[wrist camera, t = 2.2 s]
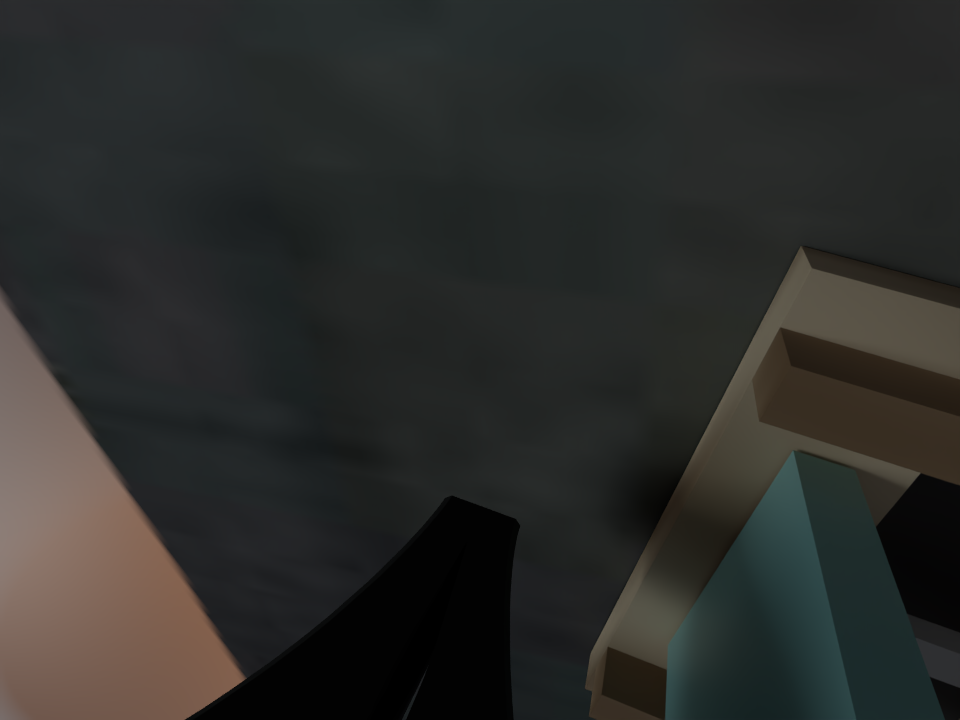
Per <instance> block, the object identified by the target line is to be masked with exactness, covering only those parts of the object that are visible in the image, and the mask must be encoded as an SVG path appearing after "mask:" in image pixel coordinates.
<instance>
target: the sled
mask: <svg viewBox="0 0 960 720" xmlns="http://www.w3.org/2000/svg"><path fill="white" fill-rule="evenodd" d="M930 677H932V678H935V679H937V680H940V681H943V682H945V683H948V684H951V685H953V686H956V687H959V688H960V633H959V632H956V631H954V630H951V629H948V628H945V627H942V626H940V625H937V624H934V623H931V622H928V621H926V620H923V619H920V618H917V617H914V616H912V615H909V614H907V613H906V610H905V607H904V604H903V602H902V599H901V596H900V593H899V590H898V588H897V585H896V582H895V579H894V577H893V574H892V571H891V568H890V565H889V563H888V560H887V557H886V554H885V552H884V549H883V546H882V543H881V540H880V538H879V535H878V532H877V529H876V527H875V524H874V521H873V518H872V515H871V513H870V510H869V507H868V504H867V502H866V499H865V496H864V493H863V490H862V488H861V485H860V482H859V479H858V477H857V474H856V471H855V470H853V469H850V468H847V467H844V466H841V465H838V464H834V463H831V462H828V461H825V460H822V459H819V458H816V457H813V456H810V455H807V454H804V453H800V452H797V451H794V450H793V451H792V453H791V454H790V456H789V458H788V459H787V461H786V462H785V464H784V465H783V467H782V468H781V470H780V472H779V473H778V475H777V476H776V478H775V479H774V481H773V482H772V484H771V486H770V487H769V489H768V490H767V492H766V493H765V495H764V496H763V498H762V500H761V501H760V503H759V504H758V506H757V507H756V509H755V510H754V512H753V514H752V515H751V517H750V518H749V520H748V521H747V523H746V524H745V526H744V528H743V529H742V531H741V532H740V534H739V535H738V537H737V538H736V540H735V542H734V543H733V545H732V546H731V548H730V549H729V551H728V552H727V554H726V556H725V557H724V559H723V560H722V562H721V563H720V565H719V566H718V568H717V570H716V571H715V573H714V574H713V576H712V577H711V579H710V580H709V582H708V584H707V585H706V587H705V588H704V590H703V591H702V593H701V594H700V596H699V598H698V599H697V601H696V602H695V604H694V605H693V607H692V608H691V610H690V612H689V613H688V615H687V616H686V618H685V619H684V621H683V622H682V624H681V626H680V627H679V629H678V630H677V632H676V633H675V635H674V636H673V638H672V640H671V641H670V643H669V644H668V657H667V683H666V710H665V720H945V718H944V715H943V713H942V710H941V707H940V704H939V701H938V699H937V696H936V693H935V690H934V688H933V685H932V682H931V679H930Z"/></svg>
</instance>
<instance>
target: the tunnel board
mask: <svg viewBox="0 0 960 720" xmlns="http://www.w3.org/2000/svg"><path fill="white" fill-rule="evenodd" d="M793 450H794V451H797V452H800V453H804V454H807V455H810V456H813V457H816V458H819V459H822V460H825V461H828V462H831V463H834V464H838V465H841V466H844V467H847V468H850V469H853V470H855V471H856V474H857V477H858V479H859V482H860V485H861V488H862V490H863V493H864V496H865V499H866V502H867V504H868V507H869V510H870V513H871V515H872V518H873V521H874V524H875V527H876V529H877V532H878V535H879V538H880V540H881V543H882V546H883V549H884V552H885V554H886V557H887V560H888V563H889V565H890V568H891V571H892V574H893V577H894V579H895V582H896V585H897V588H898V590H899V593H900V596H901V599H902V602H903V604H904V607H905V610H906V613H907V614H909V615H912V616H914V617H917V618H920V619H923V620H926V621H928V622H931V623H934V624H937V625H940V626H942V627H945V628H948V629H951V630H954V631H956V632H959V633H960V288H957V287H954V286H950V285H946V284H942V283H939V282H935V281H931V280H927V279H924V278H920V277H916V276H912V275H909V274H905V273H901V272H898V271H894V270H890V269H886V268H883V267H879V266H875V265H871V264H868V263H864V262H860V261H856V260H853V259H849V258H845V257H841V256H838V255H834V254H830V253H826V252H823V251H819V250H815V249H811V248H808V247H804V246H801V247H800V249H799V251H798V253H797V255H796V257H795V258H794V260H793V262H792V264H791V266H790V268H789V270H788V272H787V274H786V276H785V278H784V280H783V282H782V284H781V286H780V288H779V289H778V291H777V293H776V295H775V297H774V299H773V301H772V303H771V305H770V307H769V309H768V311H767V313H766V315H765V317H764V319H763V321H762V322H761V324H760V326H759V328H758V330H757V332H756V334H755V336H754V338H753V340H752V342H751V344H750V346H749V348H748V350H747V352H746V353H745V355H744V357H743V359H742V361H741V363H740V365H739V367H738V369H737V371H736V373H735V375H734V377H733V379H732V381H731V383H730V384H729V386H728V388H727V390H726V392H725V394H724V396H723V398H722V400H721V402H720V404H719V406H718V408H717V410H716V412H715V414H714V415H713V417H712V419H711V421H710V423H709V425H708V427H707V429H706V431H705V433H704V435H703V437H702V439H701V441H700V443H699V445H698V446H697V448H696V450H695V452H694V454H693V456H692V458H691V460H690V462H689V464H688V466H687V468H686V470H685V472H684V474H683V476H682V478H681V479H680V481H679V483H678V485H677V487H676V489H675V491H674V493H673V495H672V497H671V499H670V501H669V503H668V505H667V507H666V509H665V510H664V512H663V514H662V516H661V518H660V520H659V522H658V524H657V526H656V528H655V530H654V532H653V534H652V536H651V538H650V540H649V541H648V543H647V545H646V547H645V549H644V551H643V553H642V555H641V557H640V559H639V561H638V563H637V565H636V567H635V569H634V571H633V572H632V574H631V576H630V578H629V580H628V582H627V584H626V586H625V588H624V590H623V592H622V594H621V596H620V598H619V600H618V602H617V603H616V605H615V607H614V609H613V611H612V613H611V615H610V617H609V619H608V621H607V623H606V625H605V627H604V629H603V631H602V633H601V634H600V636H599V638H598V640H597V642H596V644H595V646H594V648H593V650H592V652H591V654H590V661H589V667H588V673H587V680H586V686H585V689H587V690H590V691H592V699H591V706H590V713H589V716H590V717H592V718H594V719H597V720H665V710H666V683H667V657H668V644H669V643H670V641H671V640H672V638H673V636H674V635H675V633H676V632H677V630H678V629H679V627H680V626H681V624H682V622H683V621H684V619H685V618H686V616H687V615H688V613H689V612H690V610H691V608H692V607H693V605H694V604H695V602H696V601H697V599H698V598H699V596H700V594H701V593H702V591H703V590H704V588H705V587H706V585H707V584H708V582H709V580H710V579H711V577H712V576H713V574H714V573H715V571H716V570H717V568H718V566H719V565H720V563H721V562H722V560H723V559H724V557H725V556H726V554H727V552H728V551H729V549H730V548H731V546H732V545H733V543H734V542H735V540H736V538H737V537H738V535H739V534H740V532H741V531H742V529H743V528H744V526H745V524H746V523H747V521H748V520H749V518H750V517H751V515H752V514H753V512H754V510H755V509H756V507H757V506H758V504H759V503H760V501H761V500H762V498H763V496H764V495H765V493H766V492H767V490H768V489H769V487H770V486H771V484H772V482H773V481H774V479H775V478H776V476H777V475H778V473H779V472H780V470H781V468H782V467H783V465H784V464H785V462H786V461H787V459H788V458H789V456H790V454H791V453H792V451H793ZM930 679H931V682H932V685H933V688H934V690H935V693H936V696H937V699H938V701H939V704H940V707H941V710H942V713H943V715H944V718H945V720H960V688H959V687H956V686H953V685H951V684H948V683H945V682H943V681H940V680H937V679H935V678H932V677H930Z"/></svg>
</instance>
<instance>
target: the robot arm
mask: <svg viewBox="0 0 960 720" xmlns="http://www.w3.org/2000/svg"><path fill="white" fill-rule="evenodd" d="M519 528H520V525H519V523H518V522H517V520H516V519H514V518H511V517H509V516H506V515H503V514H501V513H498V512H495V511H492V510H490V509H487V508H484V507H482V506H479V505H476V504H473V503H471V502H468V501H465V500H463V499H460V498H457V497H454V496H450V497H447V498H445V499H444V501H443V502H442V503H441V505H440V506H439V507H438V509H437V510H436V511H435V512H434V513H433V515H432V516H431V517H430V518H429V520H428V521H427V522H426V523H425V524H424V525H423V526H422V528H421V529H420V530H419V531H418V532H417V533H416V534H415V535H414V536H413V537H412V538H411V540H410V541H409V542H408V543H407V544H406V545H405V546H404V547H403V548H402V549H401V550H400V551H399V552H398V553H397V554H396V555H395V556H394V557H393V558H392V559H391V560H390V561H389V562H388V563H387V564H386V565H385V566H384V567H383V568H382V569H381V570H380V571H379V572H378V573H377V574H376V575H375V576H373V577H372V578H371V579H370V580H369V581H368V582H367V583H366V584H365V585H364V586H363V587H362V588H360V589H359V590H358V591H357V592H356V593H355V594H354V595H352V596H351V597H350V598H349V599H348V600H347V601H346V602H344V603H343V604H342V605H341V606H340V607H339V608H338V609H336V610H335V611H334V612H333V613H332V614H331V615H330V616H328V617H327V618H326V619H325V620H324V621H322V622H321V623H320V624H319V625H317V626H316V627H315V628H314V629H312V630H311V631H310V632H309V633H308V634H306V635H305V636H304V637H302V638H301V639H300V640H299V641H297V642H296V643H295V644H293V645H292V646H291V647H289V648H288V649H287V650H286V651H284V652H283V653H282V654H280V655H279V656H278V657H276V658H275V659H274V660H272V661H271V662H270V663H268V664H267V665H265V666H264V667H262V668H261V669H260V670H258V671H257V672H255V673H254V674H253V675H251V676H250V677H248V678H247V679H245V680H244V681H243V682H241V683H240V684H239V685H237V686H236V687H234V688H233V689H231V690H230V691H229V692H227V693H225V694H224V695H222V696H221V697H219V698H218V699H217V700H215V701H213V702H212V703H210V704H209V705H207V706H206V707H205V708H203V709H201V710H200V711H198V712H197V713H195V714H193V715H192V716H190V717H189V718H187V719H185V720H402V718H403V716H404V714H405V712H406V710H407V708H408V706H409V704H410V702H411V700H412V698H413V696H414V694H415V692H416V690H417V687H418V685H419V683H420V681H421V679H422V677H423V675H424V673H425V671H426V669H427V671H426V674H425V677H424V679H423V681H422V684H421V686H420V689H419V691H418V693H417V696H416V698H415V700H414V703H413V705H412V707H411V710H410V712H409V714H408V717H407V719H406V720H513V706H512V689H511V671H510V592H511V578H512V566H513V557H514V551H515V545H516V540H517V535H518V531H519ZM428 665H429V666H428ZM427 667H428V668H427Z"/></svg>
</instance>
